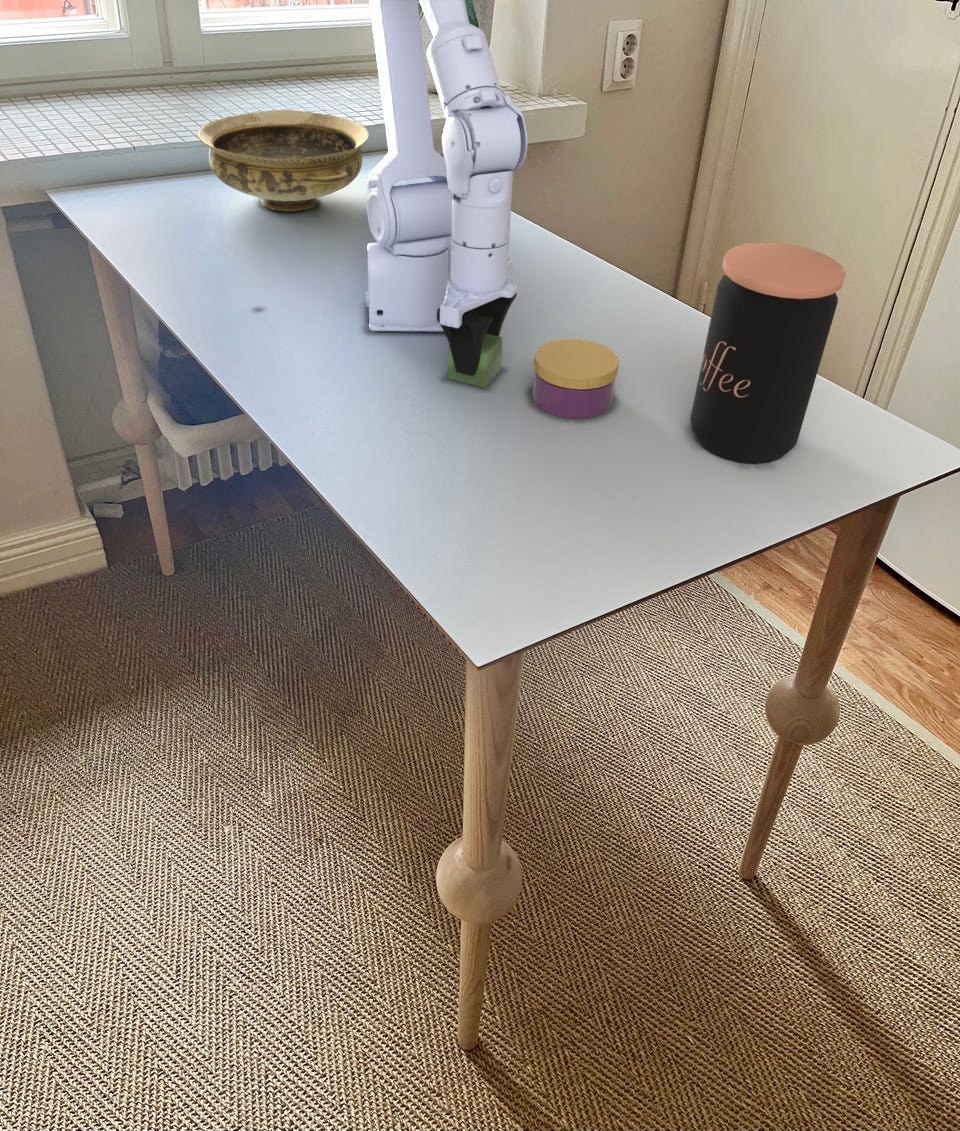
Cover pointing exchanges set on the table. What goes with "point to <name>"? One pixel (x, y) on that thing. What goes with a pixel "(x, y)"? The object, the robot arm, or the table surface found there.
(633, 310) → the table surface
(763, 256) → the coffee jar
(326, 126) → the ceramic bowl
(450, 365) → the block
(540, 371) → the lid
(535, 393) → the jar
